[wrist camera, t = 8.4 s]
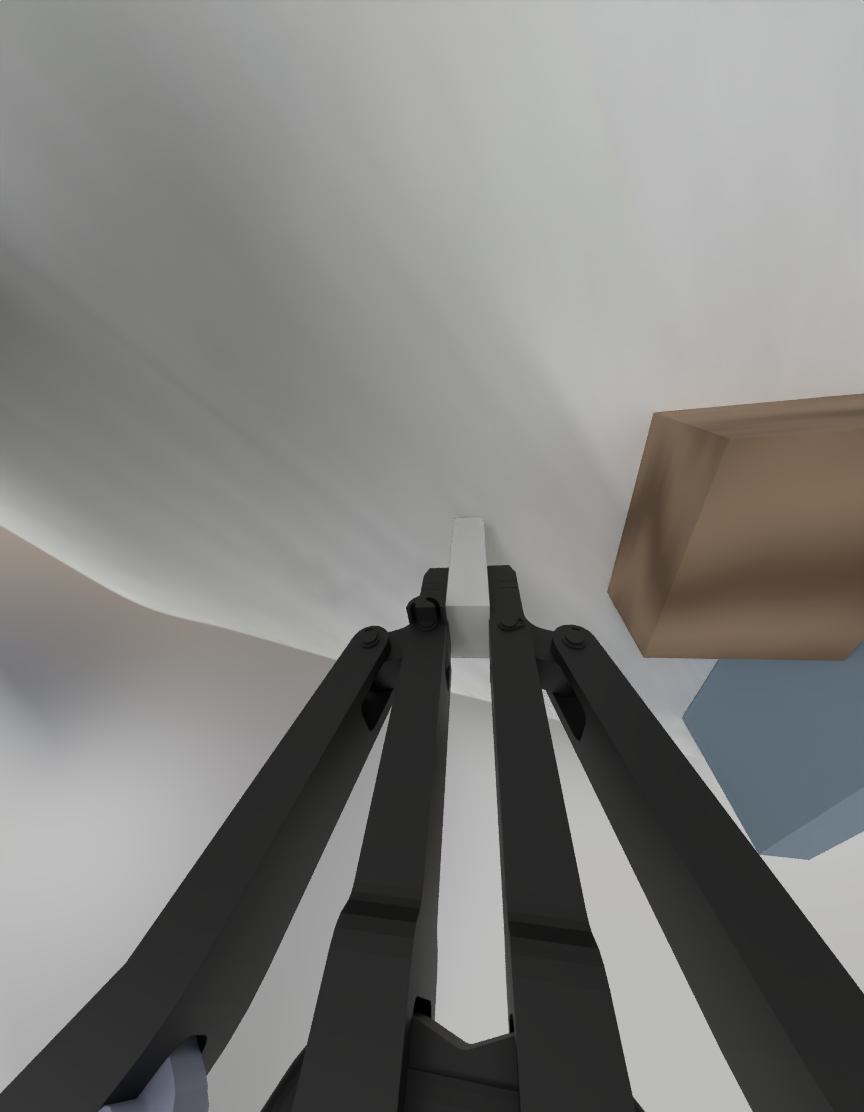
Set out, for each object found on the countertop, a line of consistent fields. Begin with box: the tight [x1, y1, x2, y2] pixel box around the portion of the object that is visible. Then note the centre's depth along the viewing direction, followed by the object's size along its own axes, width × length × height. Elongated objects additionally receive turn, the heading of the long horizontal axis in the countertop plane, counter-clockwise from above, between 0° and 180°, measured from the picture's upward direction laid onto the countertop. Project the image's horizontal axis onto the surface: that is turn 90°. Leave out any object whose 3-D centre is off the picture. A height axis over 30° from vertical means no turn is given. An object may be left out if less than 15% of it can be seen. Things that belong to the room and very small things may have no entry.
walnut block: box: [608, 394, 864, 661], centre depth 14 cm, size 10×8×5 cm
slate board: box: [682, 640, 864, 860], centre depth 15 cm, size 22×2×8 cm, turn 5°
